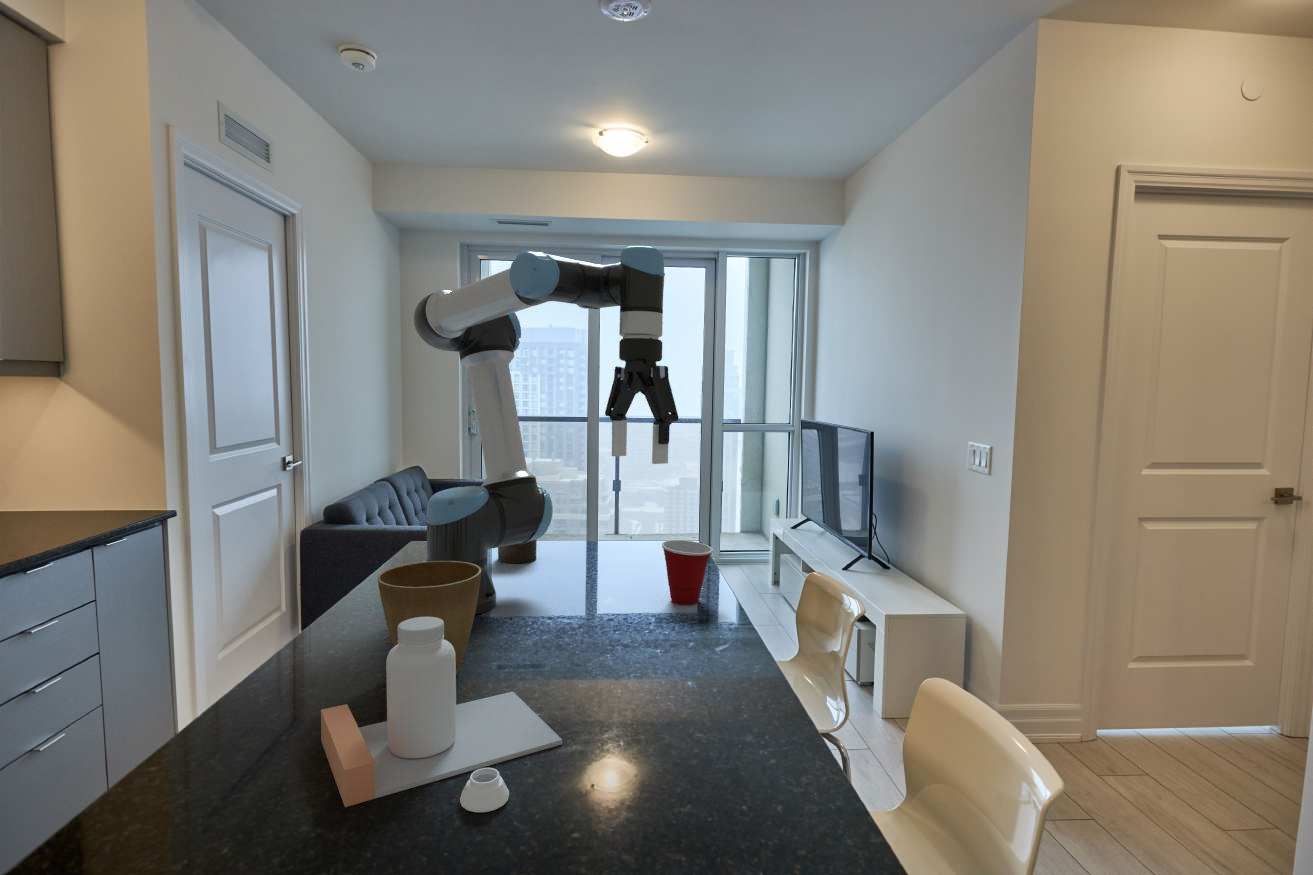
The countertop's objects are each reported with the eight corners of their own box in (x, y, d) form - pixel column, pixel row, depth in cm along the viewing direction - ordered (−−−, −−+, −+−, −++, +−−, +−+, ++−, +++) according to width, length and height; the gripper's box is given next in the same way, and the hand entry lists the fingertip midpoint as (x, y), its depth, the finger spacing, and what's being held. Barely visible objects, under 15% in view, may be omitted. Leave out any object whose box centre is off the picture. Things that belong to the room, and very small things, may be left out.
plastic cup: (708, 611, 140) (709, 552, 139) (655, 606, 142) (656, 548, 141) (714, 595, 151) (716, 540, 150) (665, 591, 153) (666, 537, 152)
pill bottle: (397, 728, 89) (397, 612, 88) (462, 727, 89) (462, 612, 88) (377, 761, 81) (377, 634, 80) (448, 760, 81) (448, 634, 80)
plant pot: (451, 649, 117) (451, 555, 116) (499, 676, 106) (500, 573, 105) (361, 673, 106) (360, 570, 105) (405, 706, 96) (404, 592, 95)
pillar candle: (532, 564, 174) (533, 504, 173) (493, 563, 174) (494, 503, 173) (539, 555, 183) (540, 498, 182) (502, 554, 183) (503, 497, 183)
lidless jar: (456, 816, 72) (505, 815, 72) (456, 789, 72) (505, 787, 72) (465, 788, 77) (511, 787, 77) (465, 763, 77) (511, 761, 77)
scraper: (321, 740, 86) (320, 709, 86) (512, 695, 100) (513, 668, 100) (344, 806, 73) (344, 770, 73) (562, 744, 87) (562, 712, 86)
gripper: (701, 336, 113) (698, 466, 115) (622, 342, 134) (620, 452, 136) (663, 333, 109) (660, 468, 111) (588, 340, 130) (586, 453, 132)
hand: (638, 459), depth 123 cm, fingers open, 13 cm apart
